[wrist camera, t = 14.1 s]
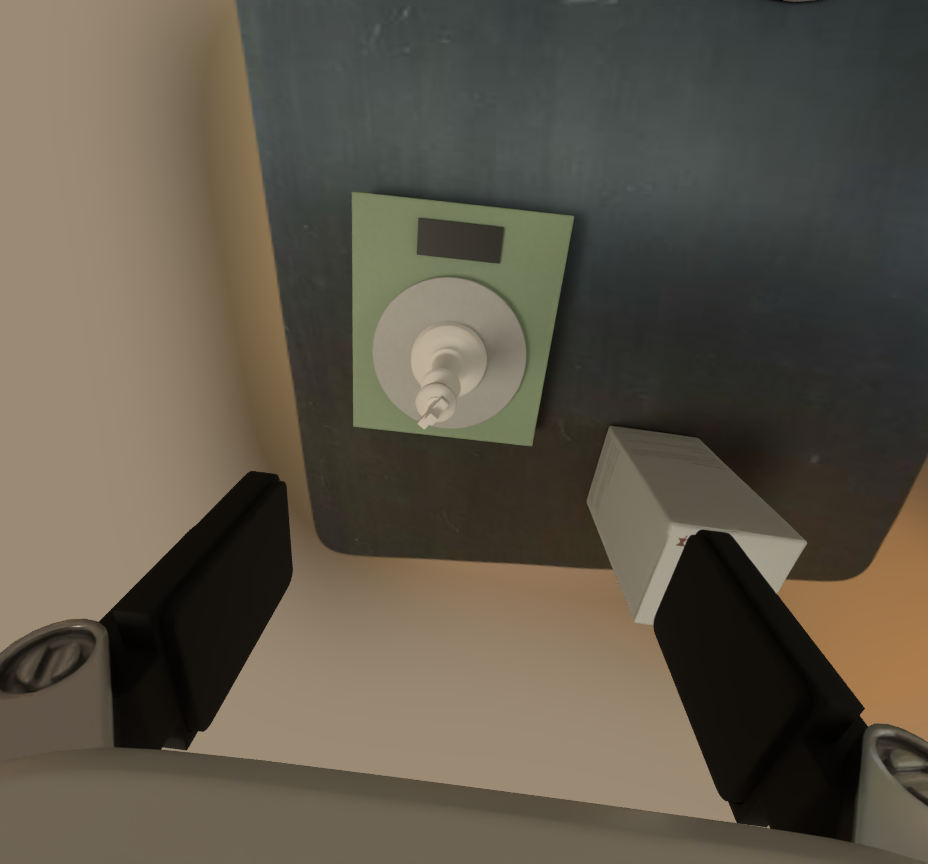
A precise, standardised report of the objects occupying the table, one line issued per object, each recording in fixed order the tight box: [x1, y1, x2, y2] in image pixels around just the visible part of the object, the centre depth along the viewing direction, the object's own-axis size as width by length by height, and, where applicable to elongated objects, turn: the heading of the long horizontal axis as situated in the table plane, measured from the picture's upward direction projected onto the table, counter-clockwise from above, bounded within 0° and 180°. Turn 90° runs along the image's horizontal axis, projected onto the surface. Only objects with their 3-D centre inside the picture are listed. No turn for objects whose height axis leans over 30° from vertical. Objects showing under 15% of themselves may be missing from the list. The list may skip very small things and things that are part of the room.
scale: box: [352, 191, 574, 446], centre depth 29 cm, size 15×13×4 cm
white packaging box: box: [587, 426, 807, 625], centre depth 29 cm, size 7×7×13 cm
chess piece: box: [411, 322, 487, 430], centre depth 24 cm, size 5×5×10 cm
